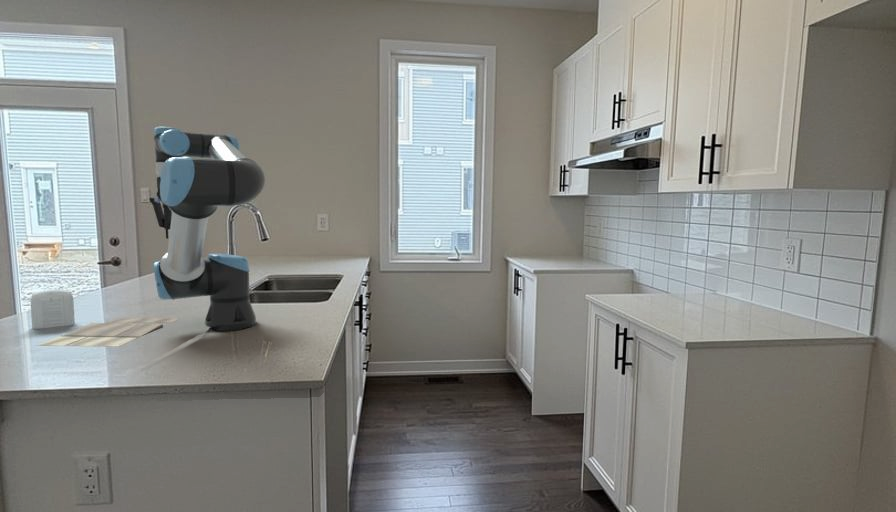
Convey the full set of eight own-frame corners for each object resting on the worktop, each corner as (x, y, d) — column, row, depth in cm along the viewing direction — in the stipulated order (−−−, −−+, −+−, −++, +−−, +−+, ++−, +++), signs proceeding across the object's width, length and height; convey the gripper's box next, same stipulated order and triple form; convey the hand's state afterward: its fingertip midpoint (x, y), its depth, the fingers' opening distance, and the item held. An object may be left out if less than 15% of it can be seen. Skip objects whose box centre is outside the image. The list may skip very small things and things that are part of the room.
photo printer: (76, 325, 152) (73, 287, 150) (74, 328, 148) (71, 289, 147) (33, 329, 146) (30, 290, 145) (31, 333, 143) (27, 292, 141)
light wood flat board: (139, 340, 137) (139, 336, 137) (118, 350, 128) (118, 346, 128) (63, 339, 137) (62, 335, 137) (36, 349, 128) (35, 344, 128)
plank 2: (180, 321, 158) (180, 318, 158) (172, 326, 153) (172, 322, 153) (116, 322, 157) (116, 318, 156) (106, 326, 151) (106, 322, 151)
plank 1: (163, 327, 148) (162, 323, 148) (140, 340, 137) (140, 336, 137) (92, 326, 148) (91, 322, 148) (64, 339, 137) (63, 334, 137)
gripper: (196, 177, 158) (199, 247, 161) (156, 176, 158) (160, 247, 161) (184, 176, 151) (187, 250, 153) (142, 175, 150) (146, 249, 153)
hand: (173, 248), depth 157 cm, fingers closed
